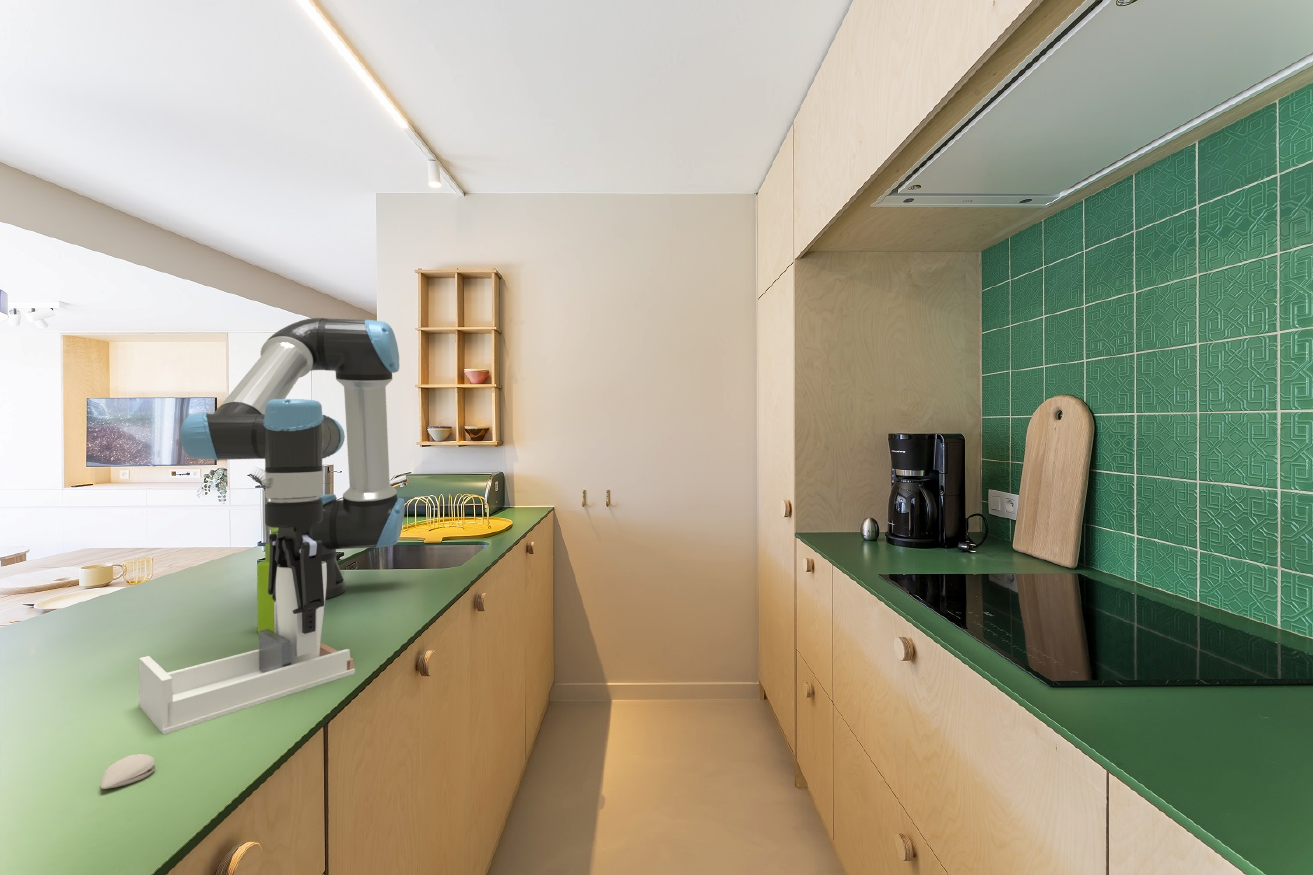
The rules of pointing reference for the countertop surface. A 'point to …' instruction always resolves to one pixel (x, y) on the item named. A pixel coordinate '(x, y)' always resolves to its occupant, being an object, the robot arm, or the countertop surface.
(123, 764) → the clam shell
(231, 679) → the pusher lane
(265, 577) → the soap dispenser
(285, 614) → the white tumbler cup
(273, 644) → the pusher plate
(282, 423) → the robot arm
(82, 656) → the countertop surface
